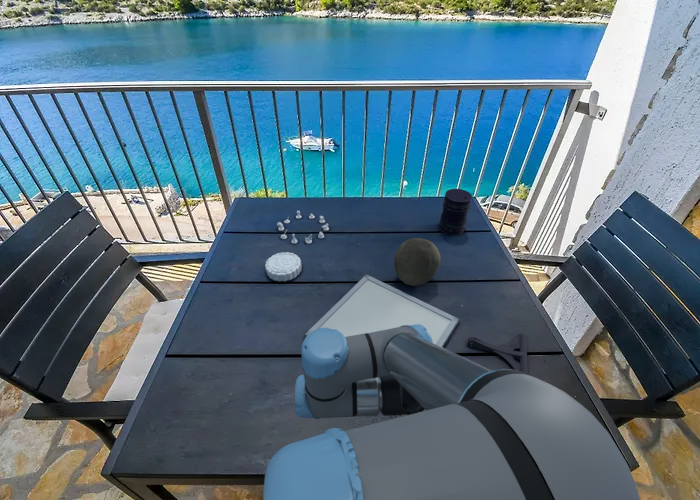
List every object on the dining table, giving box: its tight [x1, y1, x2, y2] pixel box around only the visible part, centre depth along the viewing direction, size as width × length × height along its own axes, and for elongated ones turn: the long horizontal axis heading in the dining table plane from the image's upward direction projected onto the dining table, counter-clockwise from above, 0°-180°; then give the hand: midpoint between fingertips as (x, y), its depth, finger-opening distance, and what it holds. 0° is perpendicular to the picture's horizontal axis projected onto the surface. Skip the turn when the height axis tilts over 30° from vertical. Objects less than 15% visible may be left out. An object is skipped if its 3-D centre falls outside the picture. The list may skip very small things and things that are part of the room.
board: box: [304, 274, 460, 348], centre depth 98 cm, size 30×32×2 cm
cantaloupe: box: [393, 237, 442, 287], centre depth 110 cm, size 14×14×15 cm
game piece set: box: [276, 210, 330, 245], centre depth 136 cm, size 19×20×4 cm
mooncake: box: [264, 251, 302, 282], centre depth 118 cm, size 12×12×4 cm
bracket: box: [467, 333, 529, 375], centre depth 92 cm, size 14×15×3 cm
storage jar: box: [438, 188, 473, 236], centre depth 133 cm, size 10×10×15 cm
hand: (503, 389), depth 65 cm, fingers closed on eraser, 3 cm apart
